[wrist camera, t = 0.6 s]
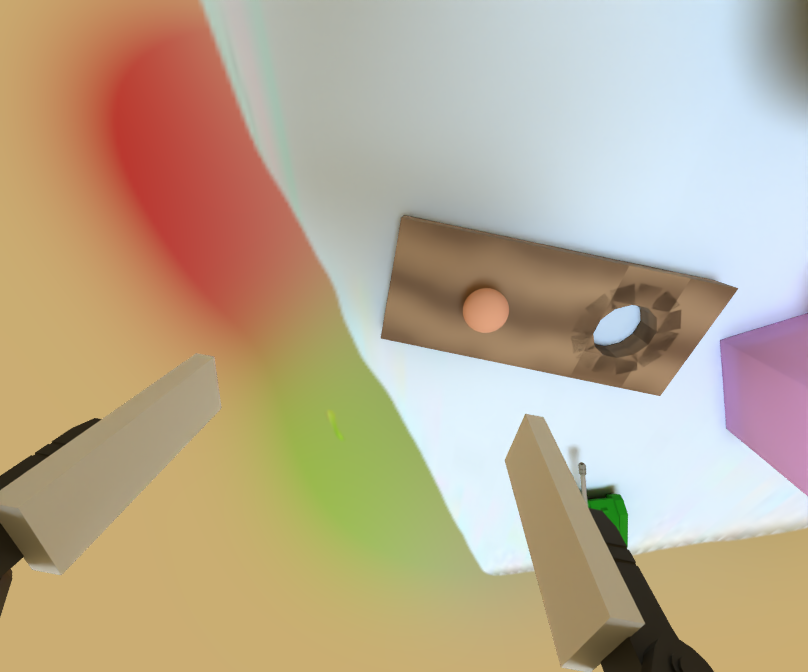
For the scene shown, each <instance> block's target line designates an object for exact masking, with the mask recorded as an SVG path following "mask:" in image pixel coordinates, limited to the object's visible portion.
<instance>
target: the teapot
mask: <svg viewBox="0 0 808 672" xmlns="http://www.w3.org/2000/svg"><path fill="white" fill-rule="evenodd" d="M720 348H721V362H722V376H723V389H724V403H725V417H726V429H728V430H729V431H730V432H731V433H732V434H734V435H735V436H736V437H737V438H738V439H740V440H741V441H742V442H743V443H744V444H746V445H747V446H748V447H749V448H750V449H752V450H753V451H754V452H755V453H757V454H758V455H759V456H760V457H761V458H763V459H764V460H765V461H766V462H767V463H769V464H770V465H771V466H772V467H773V468H775V469H776V470H777V471H778V472H779V473H781V474H782V475H783V476H784V477H785V478H787V479H788V480H789V481H790V482H791V483H793V484H794V485H795V486H796V487H797V488H799V489H800V490H801V491H802V492H803V493H805V494H806V495H807V496H808V313H807V314H803V315H800V316H797V317H794V318H790V319H787V320H784V321H781V322H777V323H774V324H771V325H767V326H764V327H761V328H758V329H754V330H751V331H748V332H745V333H741V334H738V335H735V336H732V337H728V338H725V339H722V340H720Z"/></svg>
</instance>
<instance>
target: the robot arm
mask: <svg viewBox="0 0 808 672" xmlns="http://www.w3.org/2000/svg"><path fill="white" fill-rule="evenodd" d="M220 409H221V402H220V395H219V388H218V380H217V373H216V365H215V358H214V357H213V356H207V355H202V354H195V355H193V356H192V357H190V358H189V359H188V360H186V361H185V362H183V363H182V364H180V365H179V366H177V367H176V368H175V369H173V370H172V371H170V372H169V373H168V374H166V375H165V376H163V377H162V378H160V379H159V380H157V381H156V382H154V383H153V384H152V385H150V386H149V387H147V388H146V389H145V390H143V391H142V392H140V393H139V394H137V395H136V396H134V397H133V398H132V399H130V400H129V401H127V402H126V403H124V404H123V405H122V406H120V407H119V408H117V409H116V410H114V411H113V412H112V413H110V414H109V415H107V416H106V417H105V418H103V419H97V418H94V419H92V420H89V421H87V422H85V423H83V424H80V425H78V426H76V427H73V428H72V429H70V430H68V431H67V432H65V433H64V434H63V435H61V436H60V437H58V438H56V439H55V440H53V441H52V443H51V444H47V445H46V446H44V447H43V448H41V449H40V450H39V451H37V452H35V455H33V456H32V455H31V456H30V457H28V458H26V459H25V460H23V461H22V462H20V463H19V464H17V465H16V466H14V467H13V468H11V469H10V470H8V471H7V472H5V473H4V474H2V475H1V476H0V616H1V613H2V610H3V606H4V603H5V600H6V597H7V593H8V590H9V587H10V584H11V581H12V570H11V568H12V567H13V566H14V565H15V564H16V563H17V562H18V561H19V560H21V559H22V558H23V557H24V559H25V560H26V562H27V563H28V564H29V566H30V567H31V569H32V570H37V571H41V572H47V573H52V574H58V575H62V574H63V573H64V572H65V571H66V570H67V569H68V568H69V567H70V566H71V565H72V564H73V562H74V561H76V559H77V558H78V557H79V556H80V555H81V554H82V553H83V552H84V551H85V550H86V549H87V548H88V547H89V546H90V545H91V544H92V543H93V542H94V541H95V540H96V539H97V538H98V536H99V535H100V534H101V533H102V532H103V531H104V530H105V529H106V528H107V527H108V526H109V525H110V524H111V523H112V522H113V521H114V520H115V519H116V518H117V517H118V515H120V514H121V513H122V511H123V510H124V509H125V508H126V507H127V506H128V505H129V504H130V503H131V502H132V501H133V500H134V499H135V498H136V497H137V496H138V495H139V494H140V493H141V491H143V490H144V489H145V487H146V486H147V485H148V484H149V483H150V482H151V481H152V480H153V479H154V478H155V477H156V476H157V475H158V474H159V473H160V472H161V471H162V470H163V469H164V468H165V467H166V466H167V464H168V463H169V462H170V461H171V460H172V459H173V458H174V457H175V456H176V455H177V454H178V453H179V452H180V451H181V450H182V449H183V448H184V447H185V446H186V445H187V443H189V442H190V440H191V439H192V438H193V437H194V436H195V435H196V434H197V433H198V432H199V431H200V430H201V429H202V428H203V427H204V426H205V425H206V424H207V423H208V422H209V420H211V418H212V417H213V416H214V415H215V414H216V413H217V412H218V411H219V410H220ZM505 463H506V467H507V470H508V474H509V478H510V481H511V485H512V489H513V492H514V496H515V500H516V504H517V507H518V511H519V515H520V518H521V522H522V526H523V529H524V533H525V537H526V540H527V544H528V548H529V551H530V555H531V559H532V563H533V566H534V570H535V574H536V577H537V581H538V585H539V588H540V592H541V595H542V599H543V603H544V607H545V610H546V614H547V618H548V621H549V625H550V629H551V632H552V636H553V640H554V644H555V647H556V651H557V655H558V658H559V662H560V666H561V667H562V668H567V669H573V670H578V671H584V672H591V671H592V670H594V669H595V668H596V667H597V666H598V665H599V664H601V665H602V667H603V671H604V672H714V671H713V670H712V668H711V667H710V666H709V664H708V663H707V662H706V661H705V660H704V659H703V658H702V657H701V656H700V655H699V654H698V653H697V652H696V651H695V650H693V648H691V647H690V646H688V645H686V644H685V643H684V642H682V641H681V640H679V639H678V637H677V635H676V634H675V632H674V631H673V629H672V627H671V626H670V624H669V622H668V620H667V618H666V616H665V615H664V613H663V611H662V609H661V607H660V605H659V604H658V602H657V600H656V598H655V596H654V595H653V593H652V591H651V589H650V587H649V585H648V584H647V582H646V580H645V578H644V576H643V574H642V573H641V571H640V569H639V567H638V566H636V564H635V563H636V562H635V560H634V558H633V556H632V554H631V553H630V551H629V550H627V545H626V543H625V542H624V540H623V538H622V536H621V534H620V533H619V531H618V529H617V527H616V526H615V525H614V524H613V523H612V522H611V520H610V519H609V518H608V517H607V516H606V515H605V514H604V512H603V511H602V510H597V509H591V508H588V507H587V504H586V502H585V500H584V498H583V496H582V494H581V492H580V490H579V488H578V486H577V484H576V482H575V480H574V478H573V476H572V474H571V472H570V470H569V468H568V466H567V464H566V462H565V460H564V458H563V456H562V454H561V452H560V450H559V448H558V446H557V444H556V442H555V439H554V437H553V435H552V433H551V431H550V429H549V427H548V425H547V423H546V421H545V419H544V417H540V416H534V415H529V414H525V416H524V418H523V420H522V423H521V425H520V427H519V429H518V432H517V434H516V436H515V438H514V441H513V443H512V445H511V447H510V450H509V452H508V454H507V456H506V459H505Z"/></svg>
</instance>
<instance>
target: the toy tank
mask: <svg viewBox="0 0 808 672" xmlns="http://www.w3.org/2000/svg"><path fill="white" fill-rule="evenodd" d="M578 466H579V474H580V475H581V489H582V496H583V498H584V500H585V502H586V504H587V507H588V508H591V509H597V510H602V511H603V512H604V514H605V515H606V516H607V517H608V518H609V519H610V520H611V522H612V523H613V524H614V525H615V526H616V527H617V529H618V531H619V533H620V534H621V536H622V538H623V540H624V542H625V543H626V545H627V543H628V513H627V510H626V507H625V504H624V501H623V499H622V497H621V495H618V494H606V498H601V499H600V498H599V499H589V500H587V492H586V481H585V475H586V465H585V464H584V463H582V462H581V463H579V465H578Z"/></svg>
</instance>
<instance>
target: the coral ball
mask: <svg viewBox="0 0 808 672" xmlns="http://www.w3.org/2000/svg"><path fill="white" fill-rule="evenodd" d="M508 315H509V305H508V302H507V300H506V298H505V297H504V296H503V295H502V294H501V293H500V292H498V291H497V290H494V289H491V288H482V289H479V290H476V291H474V292H473V293H471V294H470V295H469V296H468V297H467V299H466V300H465V303H464V306H463V316H464V319H465V321H466V323H467V324H468V326H469V327H470V328H472V329H473V330H475V331H477V332H481V333H490V332H493V331H496V330H498V329H499V328H501V327H502V326H503V325H504V323H505V322H506V320H507V318H508Z"/></svg>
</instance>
